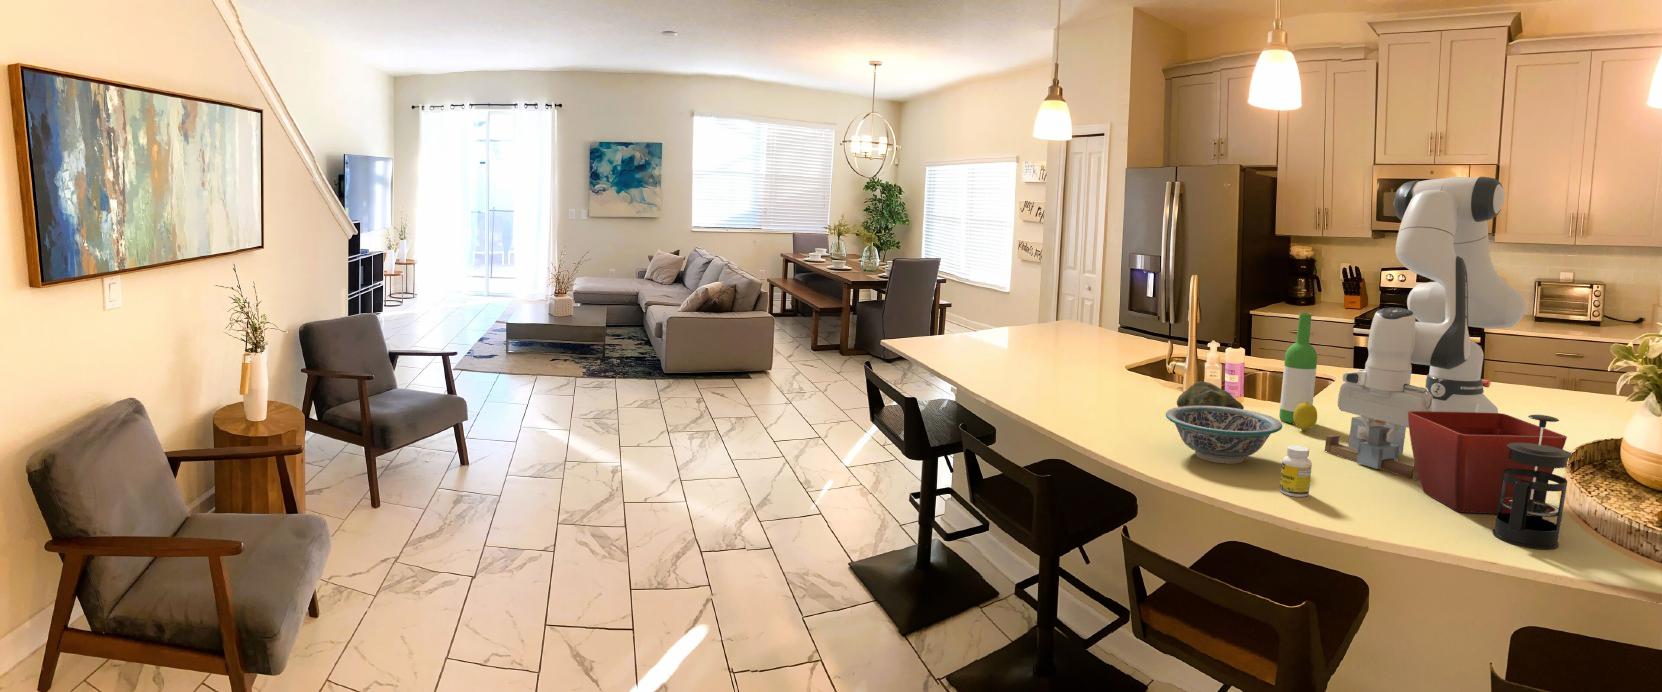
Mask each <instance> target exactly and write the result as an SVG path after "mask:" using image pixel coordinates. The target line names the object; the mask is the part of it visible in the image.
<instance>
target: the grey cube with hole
mask: <svg viewBox="0 0 1662 692" xmlns="http://www.w3.org/2000/svg"><path fill="white" fill-rule="evenodd" d="M1363 417H1364V416H1360V415H1358V416H1352V417H1351V419H1350V421H1351V422H1350V429H1349V430H1350V431H1349V440H1348V447H1351V448H1355V449H1358V447H1359V443H1361V442H1368V439H1369V437H1368V436H1366V434H1367V429H1366V427H1365V424H1364V422H1363ZM1373 424H1374V426H1381V425H1383V426H1387V427H1388V425H1389V423H1387V422H1377V421H1373ZM1406 430H1407V427H1403V426H1401V428H1400V429H1399V430H1398V431H1397V433H1396V434H1394V441H1393V442H1390V443H1391V444H1394V445H1398V446H1399V453H1398V456H1402V455H1403V454H1404V446H1405V438H1406Z"/></svg>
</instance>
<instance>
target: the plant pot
mask: <svg viewBox="0 0 1662 692" xmlns="http://www.w3.org/2000/svg"><path fill="white" fill-rule="evenodd" d="M1408 423H1409V428H1408V430H1409V437H1410V445H1411V451H1412V455H1413V459H1414V461H1415V465H1416V469H1417V472H1418V476H1419V479H1420V480H1419V482H1420V486H1421V488H1422V490H1423V493H1424V494H1427V495H1428V496H1430V497H1432V498H1433V499H1435V500H1436V501H1438V502H1441V503H1442V504H1444V505H1446V506H1447V507H1449V508H1450V509H1453V510H1454V511H1456V512H1459V513H1470V514H1471V513H1477V514H1496V515H1497V510H1498V504H1499V497H1500V490H1501V483H1502V476H1503V470H1505V469H1509V468H1522V469H1531V470H1534V469H1535V466H1531V465H1526V464H1522V463H1518V462H1516V461H1513V460H1511V459H1509V450H1510V449H1508V448H1507V444H1510V443H1532V444H1538V443H1539V437H1540V430H1541V427H1539V425H1536V424H1534V423H1531V422H1528V421H1525V420H1522V419H1519V418H1517V417H1514V416H1512V415H1509V414H1505V413H1501V412H1498V413H1479V412H1433V411H1409V412H1408ZM1567 437H1568V435H1567V436H1566V435H1564V434H1561V433H1559V432H1556V431H1553V430H1550V429H1548V428H1546V427H1545V428H1543V434H1542V441H1541V445H1546V446H1551V447H1555V448H1559V449H1562V450H1564V447H1565V444H1566V441H1567ZM1414 461H1413V462H1414ZM1555 469H1556V468H1544V467H1537V470H1538V471H1543V472H1547V473H1551V474H1554V471H1555ZM1510 476H1512V477H1515V478H1518V479H1522V480H1526V481H1531V482H1533V477H1530V476H1521V475H1510ZM1536 479H1537V477H1536ZM1535 482H1536V480H1535ZM1513 492H1514V485H1513V484H1510V483H1508V482H1506V487H1505V494H1504V498H1513ZM1534 492H1535V490H1534ZM1530 496H1531V489H1530ZM1530 496H1529V499H1530ZM1533 498H1534V493H1533ZM1510 512H1511V510H1509V509H1507V508H1505V507H1504V506H1503V508H1502V513H1510Z"/></svg>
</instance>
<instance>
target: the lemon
mask: <svg viewBox="0 0 1662 692" xmlns="http://www.w3.org/2000/svg"><path fill="white" fill-rule="evenodd" d="M1293 419H1294V422H1295V424H1294V425H1295V426H1296V427H1298V428H1299V429H1300V430H1301V431H1302V430H1303V432H1306V431H1307V430H1309V429H1312V428H1313V427H1315V425H1316V423H1317V421H1318V411H1317V408H1316V407H1315V405H1314V404H1313V405H1312V404H1310V403H1309V402H1304V403H1301V404H1299V405H1298V406H1297V407H1296V408H1295V411H1294V414H1293Z"/></svg>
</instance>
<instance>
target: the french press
mask: <svg viewBox="0 0 1662 692" xmlns="http://www.w3.org/2000/svg"><path fill="white" fill-rule="evenodd" d="M1528 419H1531V420H1534V421H1539V423H1538V426H1539V427H1541V430H1540V437H1539V443H1538V444H1532V443H1510V444H1507V448H1508V449H1510V450H1509V459H1511V460H1513V461H1516V462H1518V463H1522V464H1526V465H1531V466H1535V469H1534V470H1531V469H1522V468H1509V469H1505V470H1503V476H1502V483H1501V490H1500V497H1499V504H1498V510H1497V514H1496V517H1495V525H1494V526H1495V527H1494V528H1493V530H1492V535H1493V536H1494V538H1497V539H1498V540H1501V541H1503V542H1506V543H1508V544H1512V545H1514V546H1517V547H1522V548H1527V549H1534V550H1541V551H1542V550H1544V551H1545V550H1546V551H1547V550H1548V551H1549V550H1556V549H1558V548H1560V542H1559V537H1560V531H1561V525H1562V520H1563V519H1562V518H1563V513H1564V506H1565V505H1564V504H1565V501H1566V494H1567V487H1568V480H1567V479H1566V478H1564V477H1563V476H1560V475H1558V474H1554V473H1552V474H1551V473H1547V472H1543V471H1538V470H1537V467H1544V468H1555V469H1563V468H1566V467H1567V466H1568V459H1570V458H1572V457H1573V456H1572V455H1573V454H1572V453H1571V452H1569V451H1567V450H1564V449H1563V450H1562V449H1559V448H1555V447H1551V446H1546V445H1541V441H1542V434H1543V428H1545V429H1546V427H1547V423H1549V422H1550V423H1556V422H1559V421H1560V420H1559V419H1558V418H1557V417H1554V416H1551V415H1545V414H1531V415H1530V414H1529V415H1528ZM1510 475H1521V476H1530V477H1533V482H1531V481H1526V480H1522V479H1518V478H1515V477H1512V476H1510ZM1536 477H1537V479H1536ZM1535 480H1536V482H1535ZM1549 481H1550V482H1553V483H1549ZM1506 482H1508V483H1510V484H1513V485H1514V492H1513V498H1504V494H1505V487H1506ZM1530 489H1531V496H1530ZM1534 490H1535V492H1534ZM1547 492H1561V493H1560V498H1559V504H1558V507H1557V506H1555V505H1552V504H1550V503H1546V500H1547ZM1533 493H1534V498H1533ZM1529 496H1530V499H1529ZM1503 506H1504V507H1505V508H1507V509H1509V510H1511V512H1510V513H1502V508H1503ZM1555 517H1557V518H1556V523H1555V522H1554V521H1551V520H1549V519H1545V518H1555Z"/></svg>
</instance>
